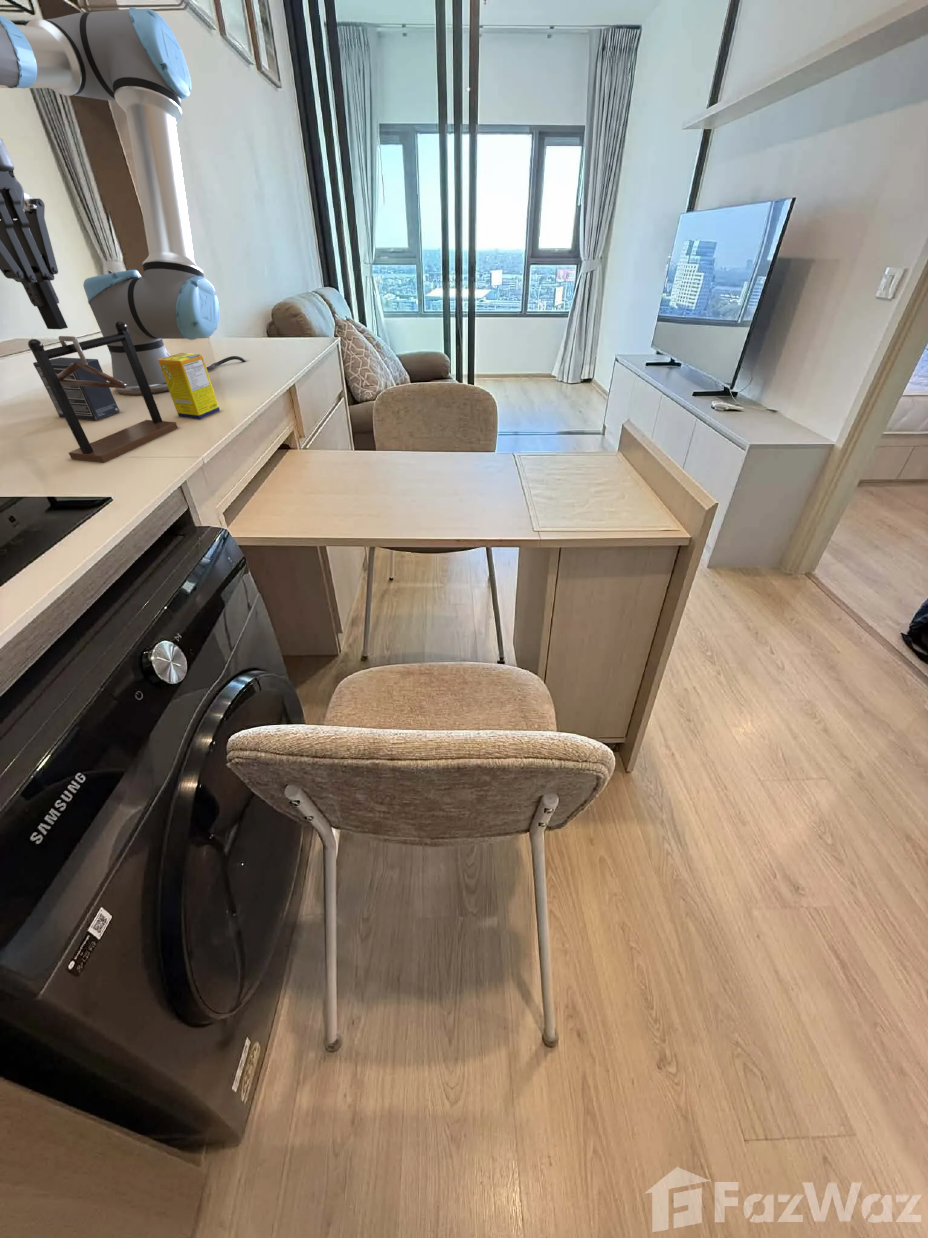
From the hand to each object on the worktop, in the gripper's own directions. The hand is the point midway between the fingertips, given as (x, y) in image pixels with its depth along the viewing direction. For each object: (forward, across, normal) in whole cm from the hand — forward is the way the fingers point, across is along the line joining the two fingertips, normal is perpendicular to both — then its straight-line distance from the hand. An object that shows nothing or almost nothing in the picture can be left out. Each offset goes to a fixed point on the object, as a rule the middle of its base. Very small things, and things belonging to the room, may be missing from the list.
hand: (57, 328), depth 85 cm
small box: (+18, -10, -15) cm, 26 cm away
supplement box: (+18, -16, +8) cm, 25 cm away
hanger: (+8, +5, +7) cm, 11 cm away
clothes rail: (+18, +2, +7) cm, 19 cm away
